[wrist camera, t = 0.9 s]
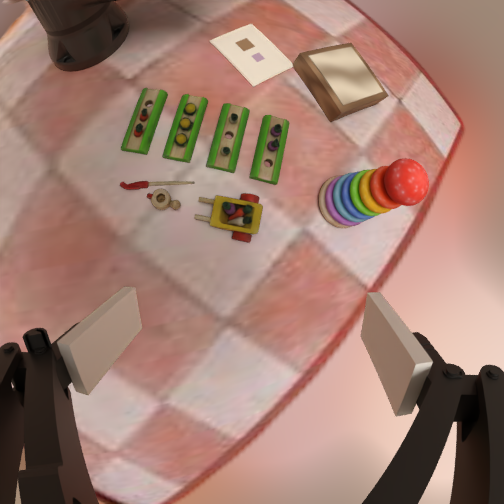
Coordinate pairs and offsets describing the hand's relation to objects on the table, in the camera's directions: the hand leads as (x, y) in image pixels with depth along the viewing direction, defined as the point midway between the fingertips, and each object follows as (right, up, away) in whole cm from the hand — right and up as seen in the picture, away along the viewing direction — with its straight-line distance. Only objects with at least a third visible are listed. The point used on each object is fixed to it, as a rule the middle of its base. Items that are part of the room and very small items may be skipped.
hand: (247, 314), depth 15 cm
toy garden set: (-7, +16, +24) cm, 29 cm away
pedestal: (+15, +33, +27) cm, 45 cm away
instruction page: (0, +36, +24) cm, 43 cm away
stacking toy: (+14, +11, +27) cm, 33 cm away
